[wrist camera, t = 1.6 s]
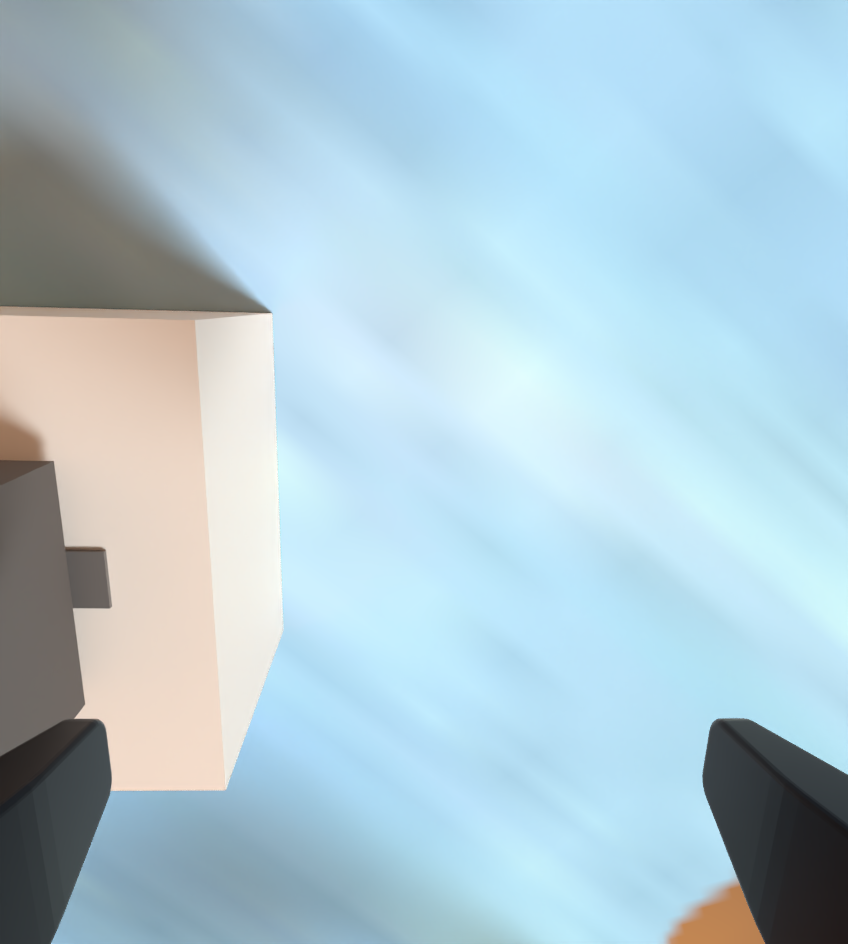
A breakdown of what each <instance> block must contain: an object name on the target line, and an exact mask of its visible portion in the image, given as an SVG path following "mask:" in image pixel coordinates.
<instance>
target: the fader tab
mask: <svg viewBox="0 0 848 944" xmlns="http://www.w3.org/2000/svg"><path fill="white" fill-rule="evenodd" d="M84 705H85V699H84V691H83V683H82V675H81V668H80V660H79V652H78V644H77V637H76V629H75V621H74V613H73V606H72V598H71V590H70V582H69V575H68V567H67V559H66V551H65V544H64V536H63V528H62V520H61V513H60V505H59V497H58V489H57V482H56V474H55V466H54V461H20V460H0V756H1V755H3V754H5V753H7V752H9V751H10V750H12V749H14V748H16V747H17V746H19V745H21V744H23V743H24V742H26V741H28V740H30V739H31V738H33V737H35V736H37V735H38V734H40V733H42V732H44V731H46V730H47V729H49V728H51V727H53V726H54V725H56V724H58V723H60V722H61V721H63V720H66V719H74V718H75V717H76V716H77V714H78V713H79V712H80V711H81V709H82V708H83V707H84Z"/></svg>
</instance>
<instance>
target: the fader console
mask: <svg viewBox="0 0 848 944" xmlns="http://www.w3.org/2000/svg"><path fill="white" fill-rule="evenodd" d="M0 460H20V461H54V466H55V474H56V482H57V489H58V497H59V505H60V513H61V520H62V528H63V536H64V544H65V551H66V559H67V567H68V575H69V582H70V590H71V598H72V606H73V613H74V621H75V629H76V637H77V644H78V652H79V660H80V668H81V675H82V683H83V691H84V699H85V705H84V707H83V708H82V709H81V711H80V712H79V713H78V714H77V716H76V717H75V718H74V719H99V720H101V721H102V722H103V723H104V725H105V728H106V732H107V740H108V748H109V756H110V764H111V772H112V785H111V791H160V790H226V788H227V785H228V783H229V780H230V777H231V774H232V772H233V769H234V766H235V763H236V761H237V758H238V755H239V752H240V749H241V747H242V744H243V741H244V738H245V736H246V733H247V730H248V727H249V724H250V722H251V719H252V716H253V713H254V711H255V708H256V705H257V702H258V699H259V697H260V694H261V691H262V688H263V686H264V683H265V680H266V677H267V674H268V672H269V669H270V666H271V663H272V661H273V658H274V655H275V652H276V649H277V647H278V644H279V641H280V638H281V636H282V633H283V602H282V574H281V545H280V517H279V488H278V459H277V431H276V402H275V373H274V345H273V316H272V313H247V312H208V311H170V310H131V309H92V308H53V307H15V306H0Z"/></svg>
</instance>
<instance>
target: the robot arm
mask: <svg viewBox="0 0 848 944" xmlns="http://www.w3.org/2000/svg"><path fill="white" fill-rule="evenodd" d="M111 785H112V772H111V764H110V756H109V748H108V740H107V732H106V728H105V725H104V723H103V722H102V721H101V720H99V719H66V720H63V721H61V722H60V723H58V724H56V725H54V726H53V727H51V728H49V729H47V730H46V731H44V732H42V733H40V734H38V735H37V736H35V737H33V738H31V739H30V740H28V741H26V742H24V743H23V744H21V745H19V746H17V747H16V748H14V749H12V750H10V751H9V752H7V753H5V754H3V755H1V756H0V944H51V942H52V940H53V938H54V935H55V933H56V931H57V929H58V926H59V924H60V921H61V919H62V917H63V914H64V912H65V909H66V907H67V904H68V902H69V899H70V896H71V894H72V891H73V889H74V886H75V884H76V881H77V878H78V876H79V873H80V871H81V868H82V865H83V863H84V860H85V858H86V855H87V853H88V850H89V847H90V845H91V842H92V840H93V837H94V834H95V832H96V829H97V827H98V824H99V822H100V819H101V816H102V814H103V811H104V809H105V806H106V803H107V801H108V798H109V795H110V791H111ZM703 787H704V792H705V795H706V798H707V801H708V803H709V806H710V808H711V811H712V813H713V816H714V819H715V821H716V824H717V826H718V829H719V831H720V834H721V837H722V839H723V842H724V844H725V847H726V850H727V852H728V855H729V857H730V860H731V862H732V865H733V868H734V870H735V873H736V875H737V878H738V880H739V883H740V886H741V888H742V891H743V893H744V896H745V898H746V901H747V903H748V906H749V908H750V911H751V913H752V915H753V918H754V920H755V922H756V925H757V927H758V929H759V931H760V933H761V935H762V937H763V940H764V942H765V944H848V775H847V774H845V773H844V772H842V771H840V770H838V769H837V768H835V767H833V766H831V765H830V764H828V763H826V762H824V761H822V760H821V759H819V758H817V757H815V756H814V755H812V754H810V753H808V752H806V751H805V750H803V749H801V748H799V747H798V746H796V745H794V744H792V743H790V742H789V741H787V740H785V739H783V738H782V737H780V736H778V735H776V734H775V733H773V732H771V731H769V730H767V729H766V728H764V727H762V726H760V725H759V724H757V723H755V722H753V721H751V720H749V719H744V718H725V719H717V720H715V721H714V722H713V723H712V725H711V727H710V731H709V737H708V743H707V749H706V755H705V761H704V768H703Z"/></svg>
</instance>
